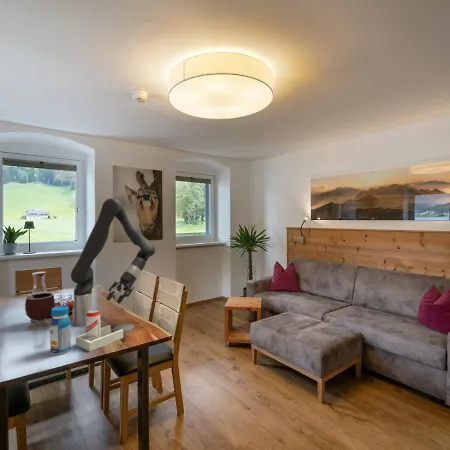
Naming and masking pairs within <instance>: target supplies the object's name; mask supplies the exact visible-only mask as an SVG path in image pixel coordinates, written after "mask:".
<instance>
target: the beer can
mask: <svg viewBox="0 0 450 450" xmlns="http://www.w3.org/2000/svg"><path fill="white" fill-rule="evenodd" d="M100 328H101V313H100V310H99V309H93V308H92V310H89V311H87V314H86V326H85V334H86V340H89V341H93V340H95V339H98V338H100V337H101V330H100Z"/></svg>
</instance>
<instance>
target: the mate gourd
mask: <svg viewBox="0 0 450 450" xmlns="http://www.w3.org/2000/svg"><path fill="white" fill-rule="evenodd" d="M23 296H24V297H25V302H24V309H25V314H26V316H27V317H28V318H29V319H30V320H32V321H33V320H34V321H36V322H33V323H31V324H29V325H28V326H27V330H28V331H33V332H34V331H42V330H46V329H48V328H49V329H50V327H51V326H50V322H51V320H45V319H47V318H50V317H52V315H51V310H52V308H54V307H56V306H55V305H56V304H55V297H54V293H53V292H38V293H33V294H25V293H23V294H22V297H23Z"/></svg>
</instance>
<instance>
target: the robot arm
mask: <svg viewBox="0 0 450 450" xmlns="http://www.w3.org/2000/svg"><path fill="white" fill-rule="evenodd" d="M115 218H116V220H118V221H119V223H120V225H121V226H122V227H123V231H124V232H125V234H126V236H127V237H128V238H129V241H131V242H132V244H133V245H134V246H138V247H139V250H138V252H137V254H136V256H135V258H134V259H133V260H132V262H131V263H130V264H129V265H128V267H127V268H125V270H124V272H123V273H122V275H121V276H120V278H119V282H117V281H114V282H113V283H112V284H111V286H110V287H109V289H108V292H109V293H108V294H107V296H106V299H105V300H107V301H109V302H110V301H111V300H112V298H113V297H114V295H115V294H117V293H121V294H120V295H119V296H118V298H117V300H116V303H118V304H121V303H122V302H123V300H124V298H126V297H127V298H129V297H130V295H131V293H133V290H134V288H135V287H134V286H133V285H134V284H135V282H136V281H137V279H138V278H139V276H140V274H141V272H142V271H143V269H144V268H145V267H146V264H147V261H148V260H149V258H151V257H152V256H154V254H155V253H156V248H155V246H154V244H153V243H152V242H151V241H150V240H149V239H148V238H146V237H145V236H144V234H143V233H142V232H141V230H140V229H139V228H138V227H137V225H136V224H135V223H134V221H133V220H132V218H131V217H130V216H129V214H128V212H127V210H126V207H125V206H124V205H123V202H122V201H121V200H120V199H118V198H115V197H112V198H107V199H106V200H105V201H103V203H102V206H101V209H100V212H99V215H98V217H97V220H96V222H95V224H94V226H93V227H92V230H91V232H90V234H89V236H88V238H87V240H86V242H85V244H84V248H83V249H82V252H81V254H80V256H79V258H78V260H77V262H76V264H75V265H74V267H73V269H72V270H71V273H70V279H71V282H73V283H74V284H76V286H75V287H74V290H73V307H72V325H73V326H75V327H86V314H87V311H89V310H93V291H92V290H93V288H94V270H93V268H92V267H91V266H92V264H93V262H94V260H95V259H96V258H97V257H99V254H100V253H101V252H102V250H103V249H104V247H105V245H106V242H107V241H108V238H109V234H110V228H111V227H110V226H111V225H112V222H113V220H114V219H115Z"/></svg>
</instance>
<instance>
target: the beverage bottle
mask: <svg viewBox="0 0 450 450" xmlns="http://www.w3.org/2000/svg"><path fill="white" fill-rule="evenodd" d="M51 317H52V318H51V320H50V321H51V322H50V326H51V327H49V341H50V343H49V344H50V354H51V355H54V356H55V355H56V356H58V355H63V354H66V353H68V352H69V351H71V349H72V345H71V343H72V342H71V341H72V340H71V339H72V337H71V336H72V333H71V332H72V331H71V330H72V326H71V318H70V317H69V306H67V305H57V306H55V307H54V308H52V310H51Z"/></svg>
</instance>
